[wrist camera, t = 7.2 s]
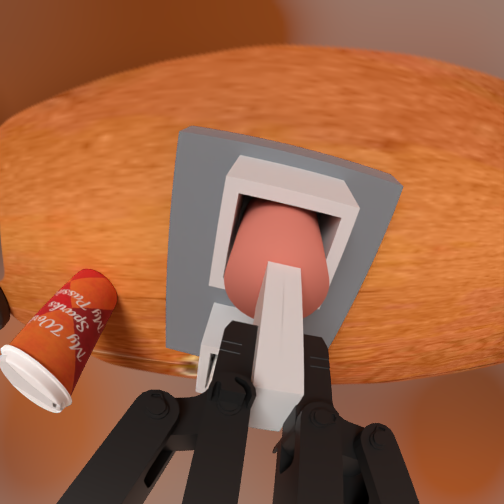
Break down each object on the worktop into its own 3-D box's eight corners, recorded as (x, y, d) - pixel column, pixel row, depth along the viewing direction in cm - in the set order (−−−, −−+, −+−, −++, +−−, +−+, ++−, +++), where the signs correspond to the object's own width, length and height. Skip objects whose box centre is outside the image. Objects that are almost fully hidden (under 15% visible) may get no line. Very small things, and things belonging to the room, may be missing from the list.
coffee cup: (134, 285, 30) (66, 399, 17) (117, 326, 34) (65, 425, 21) (72, 246, 29) (-14, 339, 16) (64, 292, 33) (0, 379, 20)
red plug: (237, 245, 21) (217, 311, 15) (250, 179, 19) (232, 227, 13) (305, 261, 22) (310, 331, 16) (326, 197, 19) (344, 252, 13)
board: (173, 328, 33) (151, 383, 26) (192, 125, 21) (148, 145, 15) (310, 357, 33) (311, 416, 26) (390, 174, 22) (431, 215, 15)
